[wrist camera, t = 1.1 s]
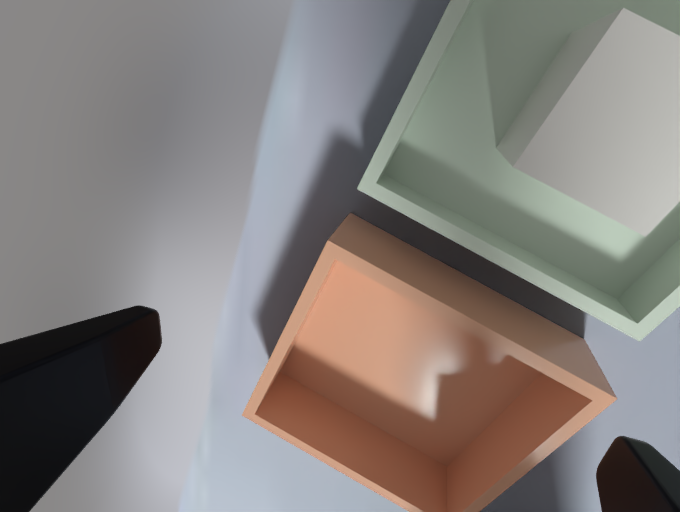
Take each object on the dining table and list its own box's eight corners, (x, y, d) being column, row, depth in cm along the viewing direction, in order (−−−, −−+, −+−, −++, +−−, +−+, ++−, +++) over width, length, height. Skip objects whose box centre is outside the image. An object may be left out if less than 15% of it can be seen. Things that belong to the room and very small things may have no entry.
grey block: (685, 90, 13) (787, 89, 9) (594, 199, 15) (645, 236, 11) (571, 32, 14) (623, 7, 10) (496, 147, 16) (513, 166, 12)
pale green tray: (898, 35, 12) (1001, 22, 10) (615, 309, 17) (639, 341, 15) (529, -145, 12) (547, -196, 10) (367, 177, 18) (356, 188, 16)
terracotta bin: (584, 339, 18) (617, 398, 15) (450, 469, 24) (450, 535, 20) (350, 212, 19) (327, 240, 15) (271, 368, 24) (241, 415, 21)
